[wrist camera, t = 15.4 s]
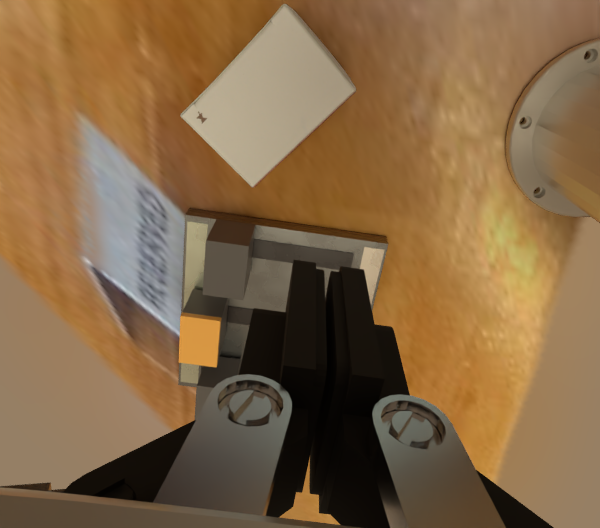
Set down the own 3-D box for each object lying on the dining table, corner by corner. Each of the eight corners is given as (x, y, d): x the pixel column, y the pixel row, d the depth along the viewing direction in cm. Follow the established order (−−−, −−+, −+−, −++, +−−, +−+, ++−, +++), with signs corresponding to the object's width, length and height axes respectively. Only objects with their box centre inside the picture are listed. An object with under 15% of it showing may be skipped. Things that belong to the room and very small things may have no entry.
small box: (267, 149, 37) (250, 193, 28) (213, 91, 35) (175, 117, 26) (348, 72, 35) (360, 92, 25) (294, 6, 33) (284, 1, 23)
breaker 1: (255, 224, 38) (248, 246, 34) (249, 274, 40) (243, 300, 36) (216, 218, 38) (205, 240, 34) (213, 269, 40) (202, 294, 36)
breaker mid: (229, 294, 41) (220, 321, 37) (225, 337, 43) (216, 367, 39) (192, 289, 41) (180, 315, 37) (190, 332, 43) (178, 362, 39)
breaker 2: (240, 359, 44) (233, 390, 40) (236, 397, 46) (229, 430, 42) (206, 354, 44) (196, 385, 40) (204, 392, 45) (194, 425, 42)
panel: (385, 236, 40) (388, 244, 39) (347, 396, 48) (348, 407, 46) (189, 208, 39) (184, 215, 38) (182, 374, 47) (178, 385, 46)
